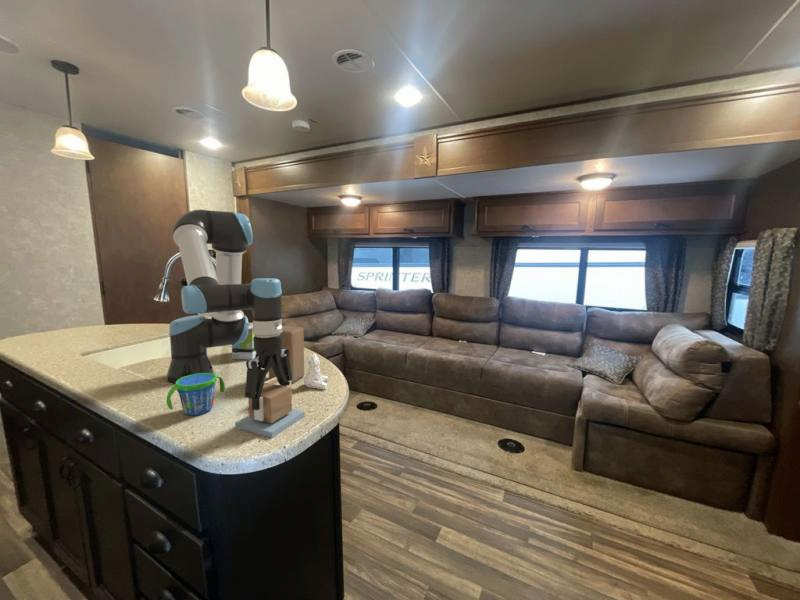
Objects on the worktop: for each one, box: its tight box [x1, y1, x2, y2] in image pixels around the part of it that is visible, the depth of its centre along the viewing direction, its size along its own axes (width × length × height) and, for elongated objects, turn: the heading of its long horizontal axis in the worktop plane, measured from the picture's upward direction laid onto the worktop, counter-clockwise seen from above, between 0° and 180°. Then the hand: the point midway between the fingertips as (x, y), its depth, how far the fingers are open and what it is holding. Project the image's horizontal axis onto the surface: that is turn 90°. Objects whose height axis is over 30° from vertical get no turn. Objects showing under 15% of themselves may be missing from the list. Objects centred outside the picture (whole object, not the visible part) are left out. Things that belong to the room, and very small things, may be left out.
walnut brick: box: [247, 384, 293, 423], centre depth 93 cm, size 8×8×7 cm
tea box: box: [231, 322, 256, 361], centre depth 156 cm, size 15×10×15 cm, turn 179°
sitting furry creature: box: [303, 353, 329, 391], centre depth 120 cm, size 10×9×12 cm
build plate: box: [234, 408, 306, 439], centre depth 93 cm, size 13×13×2 cm
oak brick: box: [263, 377, 293, 397], centre depth 107 cm, size 6×6×7 cm
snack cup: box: [166, 373, 226, 416], centre depth 99 cm, size 16×10×10 cm
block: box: [268, 325, 305, 385], centre depth 125 cm, size 10×10×20 cm
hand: (271, 412), depth 93 cm, fingers closed on walnut brick, 8 cm apart
